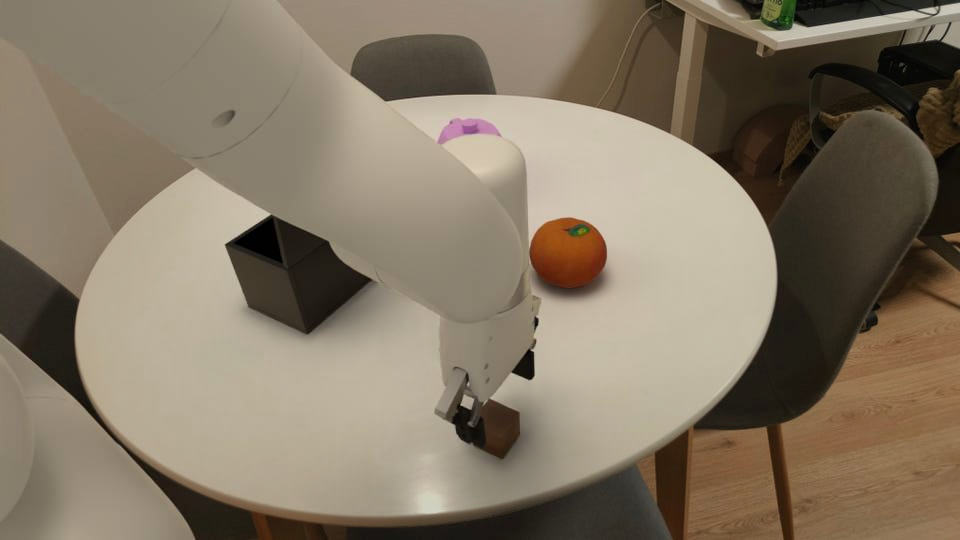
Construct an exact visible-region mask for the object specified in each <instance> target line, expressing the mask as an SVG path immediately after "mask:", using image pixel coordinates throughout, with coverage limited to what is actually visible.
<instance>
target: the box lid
mask: <svg viewBox="0 0 960 540" xmlns="http://www.w3.org/2000/svg"><path fill="white" fill-rule="evenodd" d="M273 220H274V224H275V229H276V233H277V238H278V242H279V247H280V251H281V256H282V260H283V265H284V267H286V268H288V269H289V268H290V267H291V266H293V265H294V264H296V263H297V262H298V261H300V260H301V259H302V258H304V257H305V256H306V255H308V254H309V253H310V252H312V251H313V250H314V249H316V248H317V247H319V246H320V245H321V244H323V243H324V242H325V241H327V240H325V239H323V238H321V237H319V236H317V235H314V234H312V233H310V232H308V231H306V230H303V229H301V228H299V227H297V226H294V225H292V224H290V223H288V222H286V221H284V220H281V219H279V218H278V217H276V216H274V215H273Z"/></svg>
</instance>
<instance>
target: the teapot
mask: <svg viewBox="0 0 960 540" xmlns="http://www.w3.org/2000/svg"><path fill="white" fill-rule="evenodd" d="M469 134H492V135H497V136H501V137H503V136H502V135H501V133H500V131H499V130H498V129H497V127H496V126H495V124H492V123H491V122H489V121H487V120H485V119H482V118H472V117H471V118H469V117H468V118H465V119H461V118H459V117H454V118H452V119H450V120H449V124H447V125H445V126H444V127H443V128H442V130H441V132H440V134H439V137H438V140H437V141H436V142H437V143H439V144H440V145H442V144H444V143H445V142H447V141H449V140H451V139H453V138H456V137H460V136H464V135H469Z"/></svg>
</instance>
